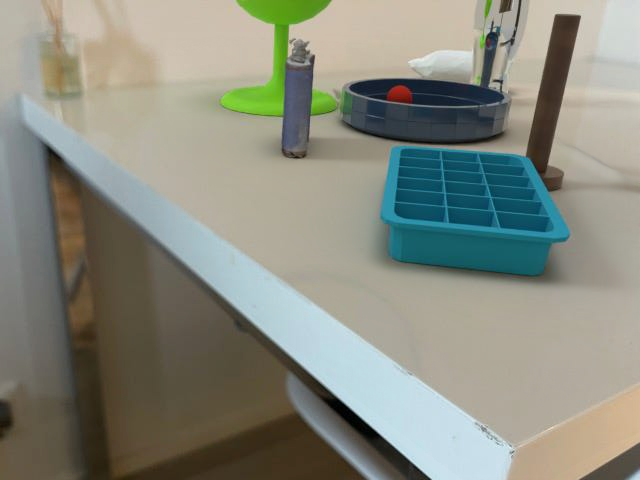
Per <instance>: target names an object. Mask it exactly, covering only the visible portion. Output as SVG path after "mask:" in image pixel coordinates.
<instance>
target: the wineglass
mask: <svg viewBox="0 0 640 480" xmlns="http://www.w3.org/2000/svg"><path fill="white" fill-rule="evenodd" d="M332 1H333V0H235V2H236V3H237V5H238V6H239V7H241V8H242V9H243V10H244V11H245V12H246V13H248V14H249V15H250V16H251V17H253V18H255V19H257V20H258V21H259V20H260V21H261V22H263V23H265V24H268V25H269V24H271V25H274V32H273V61H272V76H271V78H270V79H269V81H268V82H267V83H266V84H265V85H257V86H255V85H254V86H246V87H240V88H235V89H232V90H230V91H227V92H226V93H225V94H224V95H223V96H222V98H221V99H220V105H221V106H222V107H224V108H226V109H228V110H231V111H235V112H239V113H243V114H244V113H245V114H251V115H260V116H272V117H274V116H276V117H283V105H284V82H285V62H286V59H287V58H288V57H289V40H290V39H289V36H290V25H291V26H292V25H299V24H301V23H303V22H306V21H308V20H311V19H313V18H315V17H316V16H317V15H319V14H320V13H321V12H322V11H324V10H325V9H327V8H328V6H329V5H330V4H331V2H332ZM337 108H338V104H337V100H336V98H335V97H334V96H332V95H331V94H329V93H328V92H324V91H321V90H317V89H313V88H312V103H311V115H310V116H314V115H320V114H326V113H330V112H332V111H334V110H336V109H337Z"/></svg>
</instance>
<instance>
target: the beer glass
mask: <svg viewBox="0 0 640 480" xmlns="http://www.w3.org/2000/svg"><path fill="white" fill-rule="evenodd" d="M530 1H531V0H476V5H475V8H474V13H473V18H472V26H471V27H472V28H471V52H472V68H471V76H470V81H469V83H471V84H477V85H482V86H487V87H491V88H494V89H497V90H501V91H503V92H505V93H507V94H509V85H510V84H509V83H510V77H511V73H512V70H513V66H514V64H515V62H516V58H517V55H518V53H519V50H520V48H521V44H522V41H523V38H524V35H525V31H526V28H527V22H528V18H529V17H528V15H529V10H530V3H531V2H530Z"/></svg>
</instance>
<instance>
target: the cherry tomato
mask: <svg viewBox="0 0 640 480" xmlns="http://www.w3.org/2000/svg"><path fill="white" fill-rule="evenodd" d="M387 101H389V102H397V103H405V104H411V102H412V94H411V92H410V90H409V89H408V88H407V87H404V86H396V87H394V88H392V89H391V90H390V91H389V92H388V94H387Z"/></svg>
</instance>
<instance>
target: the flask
mask: <svg viewBox="0 0 640 480" xmlns="http://www.w3.org/2000/svg"><path fill="white" fill-rule="evenodd" d="M288 44H289V45H293V48H292V49H291V55H288V58H287V59H286V62H285V82H284V105H283V116H282V126H281V127H282V128H281V152H282V154H283V156H286V157H289V158H295V157H299V158H301V159H302V158H303V157H304V156H307V154H308V153H307V151H308V142H309V140H310V134H311V133H310V132H311V131H310V130H311V129H310V127H311V116H312V115H311V103H312V89H313V86H314V70H315V60H316V54H315V53H311V49H306V48H307V47H308V45H309V44H310V40H307V41H304V40H303V39H302V38H298V39H297V38H295V37H293V38H291V39H289V40H288Z"/></svg>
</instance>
